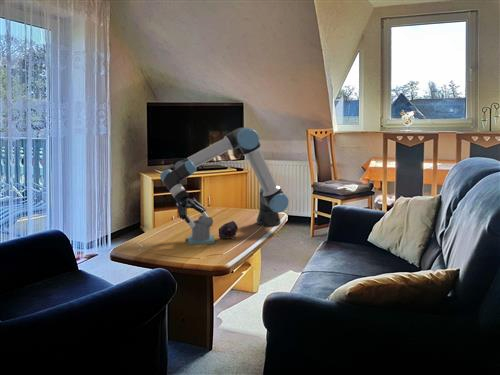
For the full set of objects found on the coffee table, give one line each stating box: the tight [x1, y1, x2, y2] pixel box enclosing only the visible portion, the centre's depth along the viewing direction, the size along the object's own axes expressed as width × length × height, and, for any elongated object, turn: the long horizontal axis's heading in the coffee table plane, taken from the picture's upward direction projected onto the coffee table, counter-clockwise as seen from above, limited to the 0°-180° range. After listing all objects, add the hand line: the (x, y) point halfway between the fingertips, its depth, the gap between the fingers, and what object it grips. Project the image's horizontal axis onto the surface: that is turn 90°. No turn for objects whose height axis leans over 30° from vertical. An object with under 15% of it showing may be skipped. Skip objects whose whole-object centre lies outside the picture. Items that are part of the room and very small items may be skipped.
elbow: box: [191, 215, 214, 241], centre depth 236 cm, size 11×9×12 cm
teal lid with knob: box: [187, 234, 215, 245], centre depth 237 cm, size 14×12×6 cm
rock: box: [218, 220, 239, 240], centre depth 244 cm, size 12×9×10 cm
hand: (201, 224), depth 235 cm, fingers open, 13 cm apart
